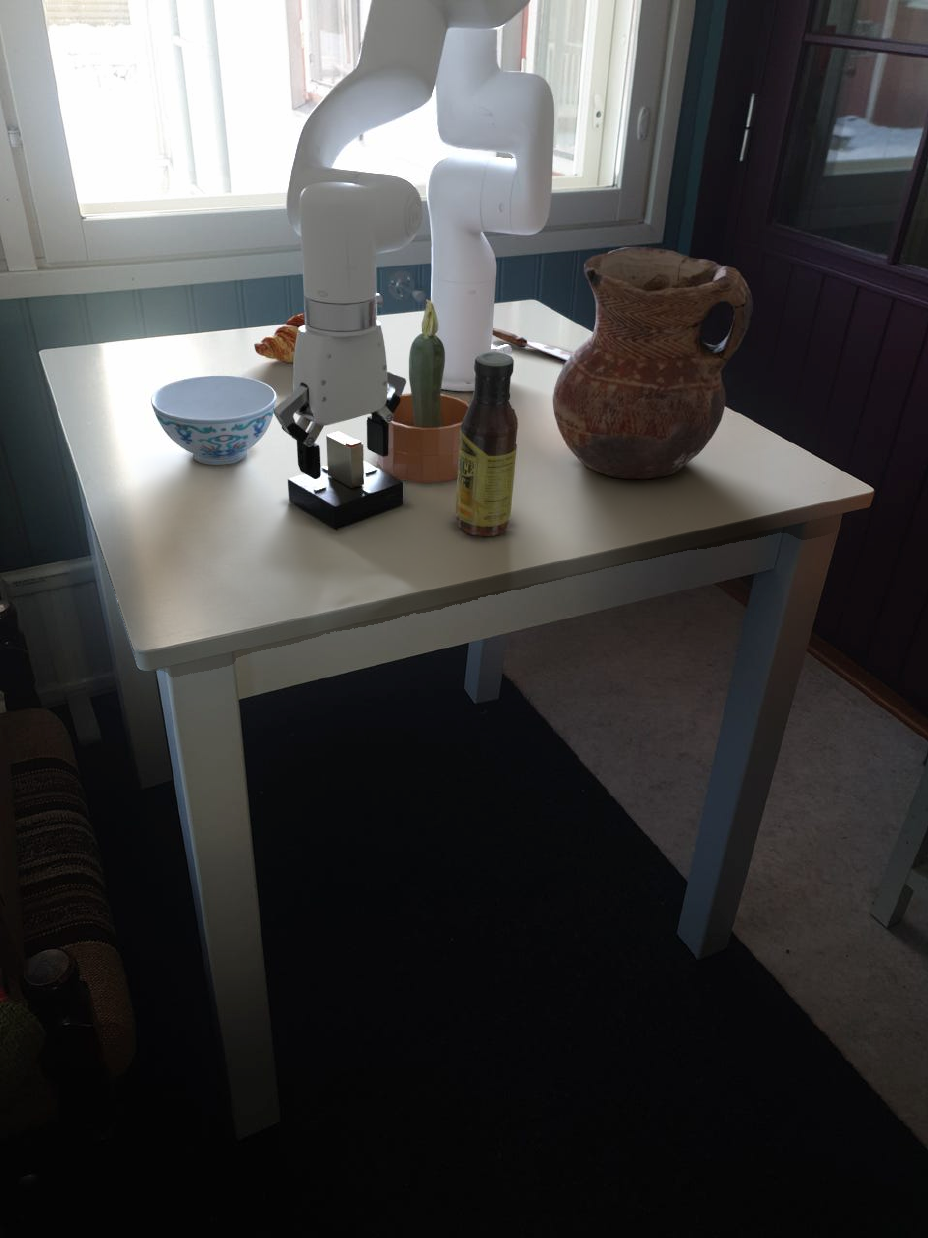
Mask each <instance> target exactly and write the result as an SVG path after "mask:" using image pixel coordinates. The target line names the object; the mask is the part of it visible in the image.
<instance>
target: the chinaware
mask: <svg viewBox="0 0 928 1238" xmlns="http://www.w3.org/2000/svg"><path fill="white" fill-rule="evenodd" d="M276 401H277V393H276V391H275V390H274V389H273V387H271V385H269V384H267V383H265V382H262V381H260V380H257V379H253V378H250V377H245V376H244V377H243V376H235V375H204V376H196V377H191V378H189V377H188V378H185V379H180V380H177V381H174V382H170V383H168V384H166V385H164V386H162V387H160V388H159V389H157V390H156V391H154V393H153V394H152V396H151V399H150V404H151V406H152V410H153V412H154V414H155V417H156V419H157V421H158V423H159V425H160V427H161V428H162V429H163V431H164V433H165V434H166V435H167V436H168V437H169V438H170V439H171V440H172V441H173V442H174V443H175V444H176V445H178V446H179V447H180V448H181V449H183V450H184V451H187V452H188V453H191V454H192V456H193V458H194V460H196V461H197V462H199V463H202V464H204V465H209V466H210V465H211V466H223V465H230V464H234V463H238V462H240V461H242V460H244V459H245V458H246V457H247V455H248V451H249V450H250V449H251V448H252V447H254V446H255V445H256V444H257V443H258V442H259V441H260V440H261V439H262V438H263V436H264V435H265V434H266V432H267V431H268V429H269V427H270V425H271V423H272V420H273V417H274V409H275V408H276V403H277V402H276Z"/></svg>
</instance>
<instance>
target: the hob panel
mask: <svg viewBox="0 0 928 1238" xmlns="http://www.w3.org/2000/svg"><path fill="white" fill-rule="evenodd" d="M404 486H405V483H404V480H402V479H398V478H395V477H393V476H391V475H389V474H387V473H385V472H384V471H382V470H381V469H380V468H379V467H376V466H374V465H372V464H370V463H368V462H366V461H364V485H361V486H358V487H355V488H350V487H348V486H346V485H345V484H343V483H341V482H339V481H337V480H336V479H334V478H332V477H330V476H328V467H327V465H326V466H324V465H323V466H321V476H320V478H318V479H313V478H312V477H310V476H308V475H306V474H305V473H302V474H299V475H295V476H292V477H290V478H287V489H288V492H287V493H288V503H290V504H291V505H293V506H294V507H297V508H298V509H299V510H301V511H303V512H305V513H306V514H308V515H309V516H311V517H313V518H314V519H316V520H317V521H319V522H321V523H323V524H324V525H326V526H328V527H329V528H331V529H332V530H335V531H338V530H341V529H343V528H347V527H349V526H351V525H355V524H357V523H359V522H362V521H364V520H367V519H370V518H373V517H375V516H378V515H380V514H383V513H385V512H388V511H392V510H393V509H396V508H397V509H398V508H400V507H401V506H404V505H405V503H404V502H405V501H404V498H405V497H404V495H405V493H404V492H405V491H404V489H405V487H404Z"/></svg>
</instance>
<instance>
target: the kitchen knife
mask: <svg viewBox="0 0 928 1238" xmlns="http://www.w3.org/2000/svg"><path fill="white" fill-rule="evenodd" d="M492 336H494V337H496V338H497V339H499V340H501V341H504V342H506V343H509V344H511V345H515V346H517V347H519V348H526V347H528V348H531V349H534V350H536V351H539V352H541V353H544V354H547V355H550V356H552V357H555V358H558V359H560V360H563V361H565V362H566V361H567V360H568V359H569V357H570V356H571V355H572V354H573V353H570V352H568V351H565V350H563V349H560V348H558V347H555V346H551V345H548V344H544V343H539V342H535V341H529V340H527V339H526V338H525V337H523V336H519V335H517V334H515V333H512V332H509V331H506V330H503V329H500V328H496V327H493V334H492Z"/></svg>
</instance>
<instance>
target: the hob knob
mask: <svg viewBox="0 0 928 1238" xmlns="http://www.w3.org/2000/svg"><path fill="white" fill-rule="evenodd" d="M325 438H326V466H327V467H328V476H330V477H332V478H334V479H336V480H337V481H339V482H341V483H343V484H345V485H346V486H348V487H350V488H355V487H358V486H361V485H364V462H365V460H364V459H365V458H364V457H365V456H364V444H363V443H362V441H361V440H358V439H354V438H352V437H350V436H348V435H346V434H344V433H342V432H340V431H336V432H333V433H330V434H327V435H326V436H325Z"/></svg>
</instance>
